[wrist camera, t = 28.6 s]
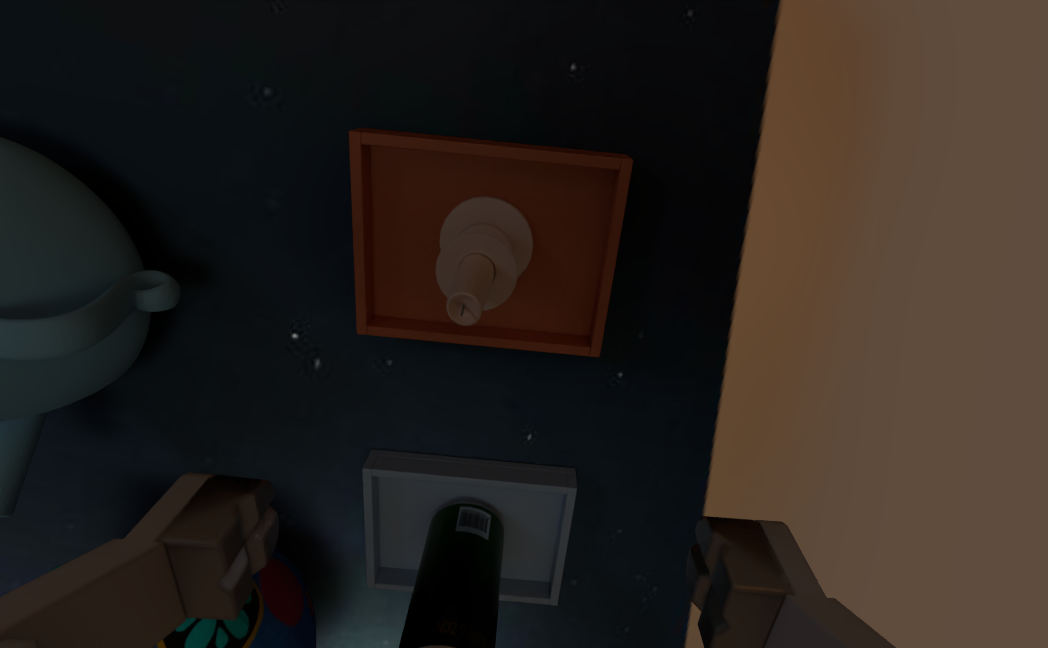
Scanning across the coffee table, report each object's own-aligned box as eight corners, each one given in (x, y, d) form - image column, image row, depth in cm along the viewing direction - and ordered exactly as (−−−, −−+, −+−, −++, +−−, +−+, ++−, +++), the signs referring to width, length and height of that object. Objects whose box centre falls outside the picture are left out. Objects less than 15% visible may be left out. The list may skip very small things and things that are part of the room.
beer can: (433, 490, 38) (389, 658, 27) (509, 500, 38) (496, 671, 27) (428, 546, 40) (385, 722, 29) (500, 555, 40) (484, 734, 29)
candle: (442, 284, 31) (398, 371, 22) (439, 193, 29) (389, 247, 20) (531, 287, 31) (527, 377, 22) (535, 197, 29) (532, 252, 19)
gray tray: (575, 467, 37) (577, 488, 35) (556, 581, 42) (557, 605, 40) (371, 448, 37) (361, 468, 35) (374, 565, 42) (366, 588, 40)
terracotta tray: (627, 154, 28) (633, 159, 27) (596, 341, 33) (599, 357, 31) (361, 127, 28) (348, 130, 26) (367, 319, 33) (356, 334, 31)
